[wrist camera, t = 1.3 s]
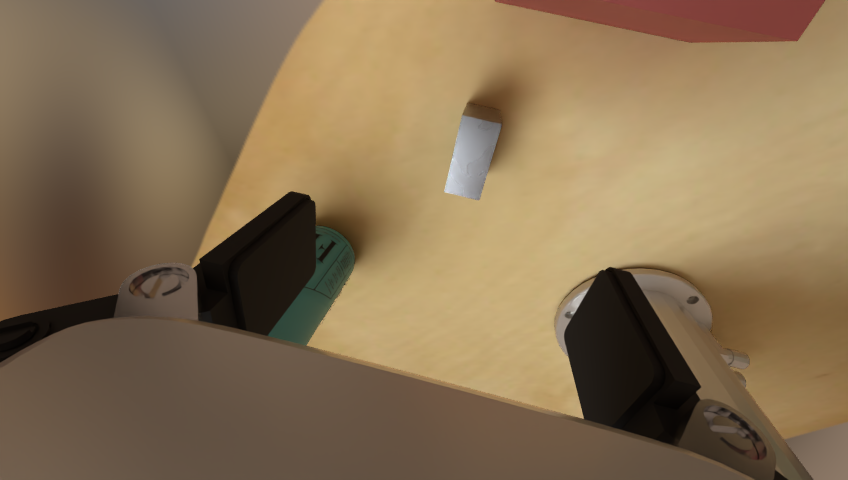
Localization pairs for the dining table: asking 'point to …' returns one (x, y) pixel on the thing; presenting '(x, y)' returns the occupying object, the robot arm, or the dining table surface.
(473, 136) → the grey flat block
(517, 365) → the dining table surface
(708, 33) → the red slotted block
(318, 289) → the beverage bottle
